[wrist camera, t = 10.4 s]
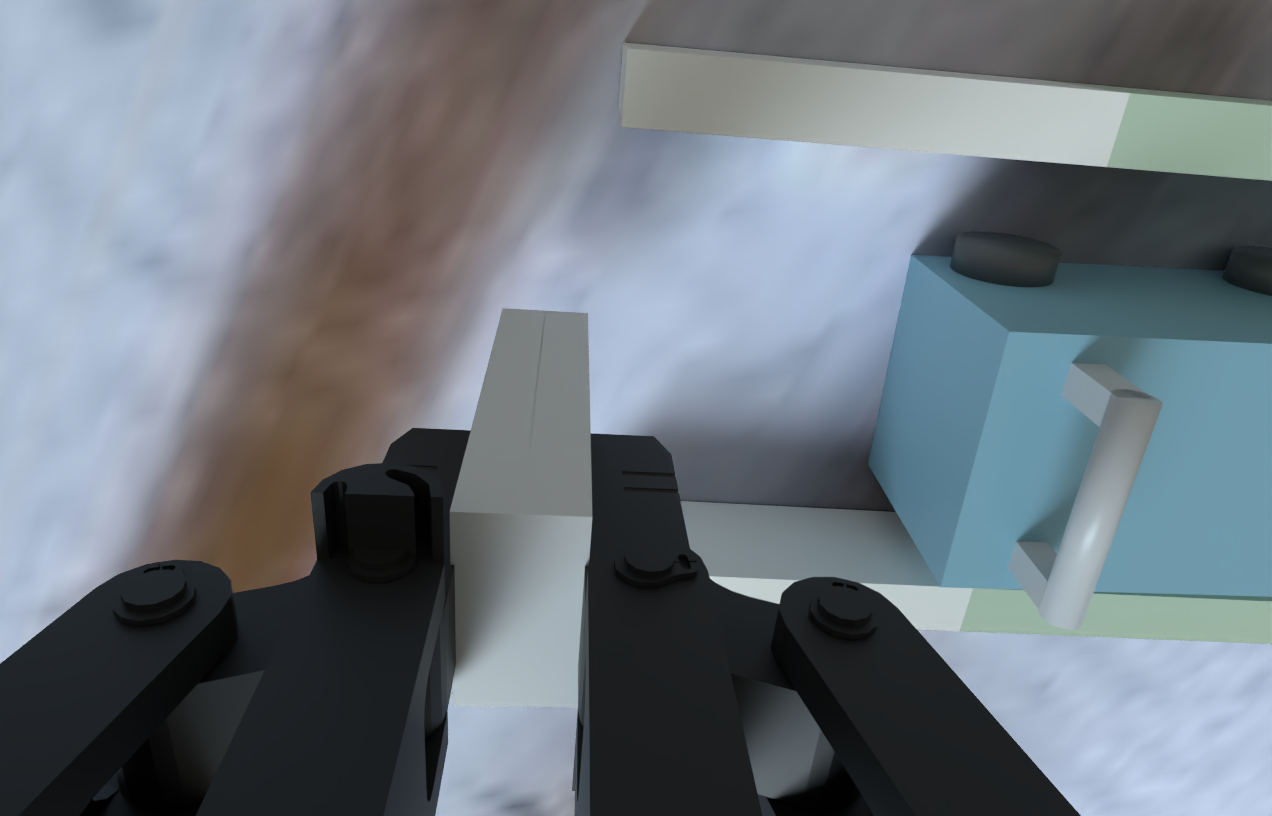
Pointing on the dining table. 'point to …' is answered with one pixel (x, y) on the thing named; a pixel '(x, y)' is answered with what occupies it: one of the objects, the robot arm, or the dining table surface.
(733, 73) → the frame
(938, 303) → the blue handled block
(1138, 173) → the dining table surface
